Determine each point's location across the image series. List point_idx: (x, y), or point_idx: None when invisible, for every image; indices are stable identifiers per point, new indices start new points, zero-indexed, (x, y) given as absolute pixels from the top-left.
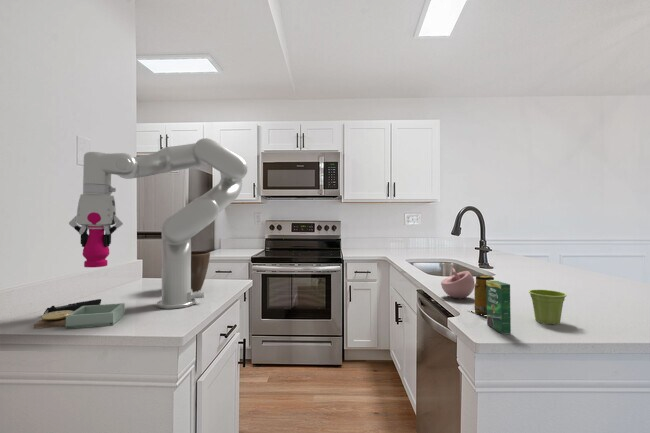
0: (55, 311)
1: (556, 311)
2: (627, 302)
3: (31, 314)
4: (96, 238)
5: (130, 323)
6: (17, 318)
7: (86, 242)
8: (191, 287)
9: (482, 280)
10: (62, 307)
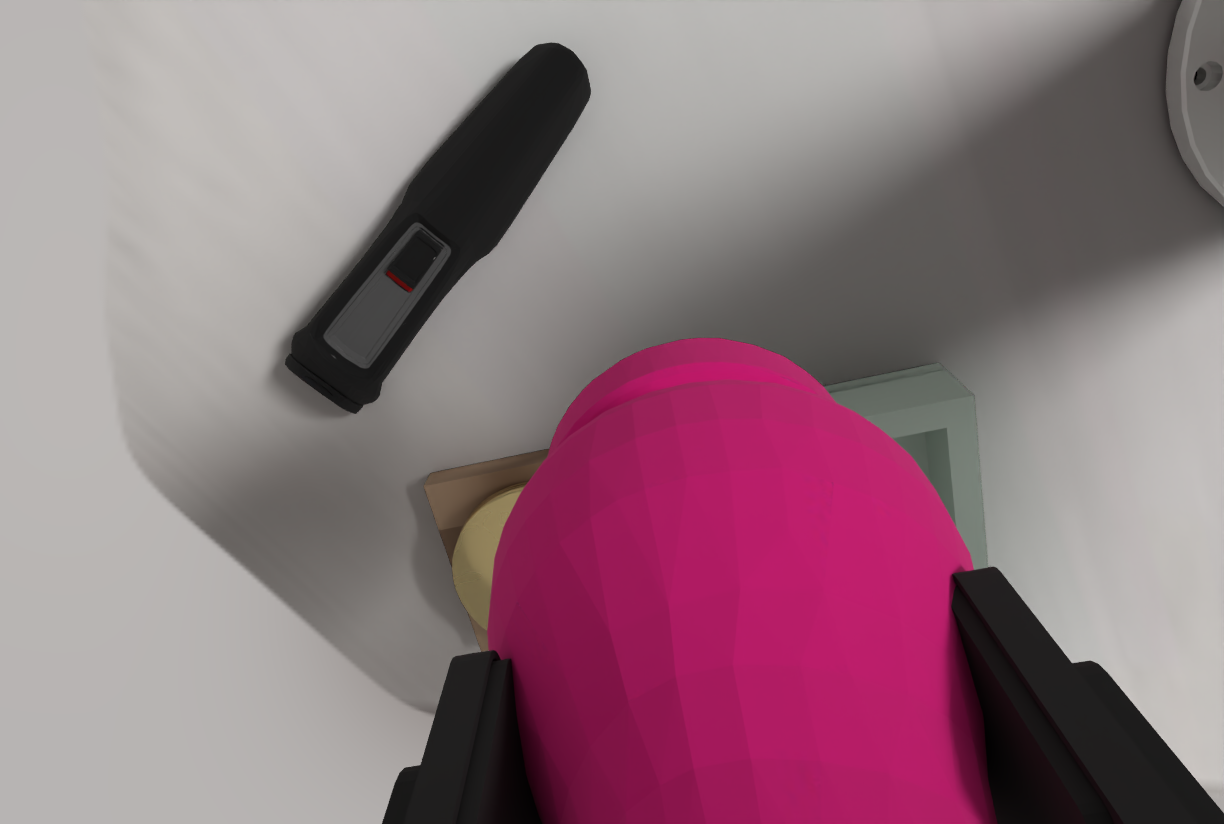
0: (477, 514)
1: None
2: None
3: (157, 314)
4: None
5: (1066, 584)
6: (158, 417)
7: (530, 820)
8: None
9: None
10: (395, 339)
